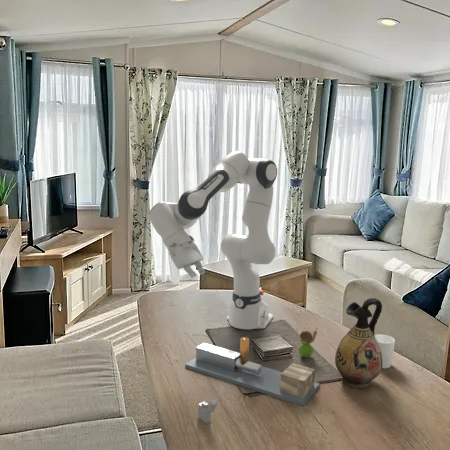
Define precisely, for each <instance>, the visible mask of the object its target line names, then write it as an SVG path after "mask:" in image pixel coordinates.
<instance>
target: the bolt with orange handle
mask: <svg viewBox="0 0 450 450" xmlns="http://www.w3.org/2000/svg"><path fill="white" fill-rule="evenodd" d="M239 346H240V347H239V353H240V358H237V359H235V367H237V368H240V369H243V370H246V371H249V372H253V373H256V374H260V372H261V369H262V366H263V365H261V364H259V363H256V362H252V361H250V360H249V358H250V357H249V354H250V352H249V351H250V338H249V337H247V336H243V337H240V343H239Z"/></svg>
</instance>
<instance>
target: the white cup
mask: <svg viewBox="0 0 450 450" xmlns="http://www.w3.org/2000/svg"><path fill="white" fill-rule="evenodd" d="M374 336H375V338H376V340H377V342H378V344H379V346H380V349H381V352H382V359H383V364H382V369H388V368H389V369H390V367H392V361H393V356H394V351H395V350H394V349H395V343H396V340H395V338H394V337H392V336H391V335H386V334H382V333H381V334H380V333H379V334H374Z"/></svg>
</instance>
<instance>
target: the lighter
mask: <svg viewBox="0 0 450 450" xmlns="http://www.w3.org/2000/svg"><path fill="white" fill-rule="evenodd" d="M217 405H218V402H217V400H216V399H212V400H211V401H209V403H208V402H206V401H205V400H204V401H201V402H199V403H198V407H197V408H198V411H197V412H198V418H199V419H200V420H201V421H202V422H204V424H209V423H212V421H211V420H212V418H211V417H212V413H214V412H215V410H216V407H217Z"/></svg>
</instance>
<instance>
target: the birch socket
mask: <svg viewBox="0 0 450 450" xmlns="http://www.w3.org/2000/svg"><path fill="white" fill-rule="evenodd" d="M281 372H282V373H281V381H280V391H283V392H286V393H289V394H292V395H295V396H298V397H301V398H304V397H305V395H306V394H307V393H308V392H309V391H310V390H311V389H312V388H313V386H314V382H315V376H316V375H315V373H316V369H315V368H312V367H308V366H304V365H300V364H296V363H294V362H293V363H291V364H290V365H289V366H288V367H287V368H285V369H284V371H281Z"/></svg>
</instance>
